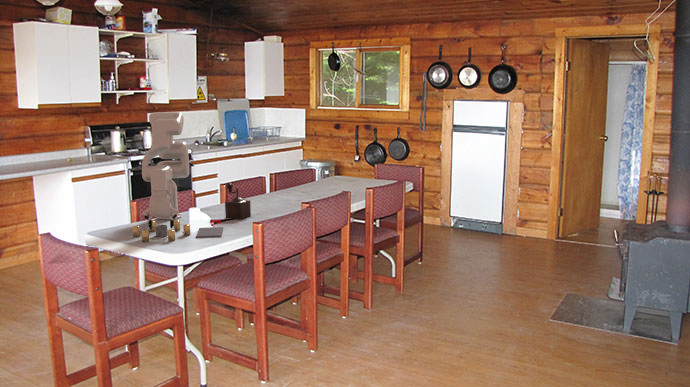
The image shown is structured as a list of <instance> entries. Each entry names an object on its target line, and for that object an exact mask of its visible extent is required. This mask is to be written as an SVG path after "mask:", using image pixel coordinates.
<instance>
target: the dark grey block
mask: <svg viewBox="0 0 690 387" xmlns="http://www.w3.org/2000/svg"><path fill="white" fill-rule="evenodd" d="M155 237H156V238H164V237H168V225H167V224H158V225H157V224H156V231H155Z"/></svg>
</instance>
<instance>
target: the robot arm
mask: <svg viewBox="0 0 690 387" xmlns="http://www.w3.org/2000/svg"><path fill="white" fill-rule="evenodd" d="M148 121H149V123H150V124H149V125H151V148H150V149H148V150H147V152H146V153H145V154H144V156H143V159H142V162H141V164H142V165H141V176H142V179H143V181H144V182H150V187H151V189H150V191H151V196H150V197H149V208H147V209H145V210H144V211H142V212H141V213H142V215H143V217H144V219H146V220H147V223H148V228H149V227H150V229H152V228H153V227H152V221H153V219H152V218H157V219H159V220H164V221H165V220H167V221H168V220H170V221H169V222H170V223H169V227H170V229H174V220H178V219H180V218H181V217H182V214H181V213H180V210H179V204H178V187H177V186H178V185H177V184H176V181H174V180H173V179H184V178H188V177H189V175H190V158H189V147H188V143H186V142H185V141H179V140H178V141H175V140H174V136H180V135H181V134H182V132H183V128H184V122H185V119H184V116H183V114H182V112H180V111H179V112H178V111H171V112H170V111H166V112H165V111H163V112H162V111H157V112H151V113H150V114H149V115H148ZM156 157H159V158H160V159H163V161H159V162H157V164H156V165H151V166H150V165H149V164H150V161H152V159H153V158H156ZM147 213H149V215H147Z"/></svg>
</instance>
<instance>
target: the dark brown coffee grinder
mask: <svg viewBox="0 0 690 387" xmlns="http://www.w3.org/2000/svg"><path fill="white" fill-rule="evenodd" d="M225 188H226V189H227V190H228V191H227V193H228V194H229V195H231V194H236V197H233V198H232V199H230V200H227V201H224V211H225V213H224V214H225V219H227V218H233V219H232V220H238V221H241V220H245V219H247V218H251V217H252V212H251V211H252V210H251V206H252V205H251V200H250V199H245V198H243V196H239V188H238V187H236V188H235V191H234V190H233V188H234V184H233V183H227V184H226V186H225Z"/></svg>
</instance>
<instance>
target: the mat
mask: <svg viewBox="0 0 690 387" xmlns="http://www.w3.org/2000/svg"><path fill="white" fill-rule="evenodd" d="M223 232H224V226H214V227H210V226H209V227H199V228H198V231H197V233H196V235H195V238H196V239H202V238H204V239H206V238H222V236H223Z"/></svg>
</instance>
